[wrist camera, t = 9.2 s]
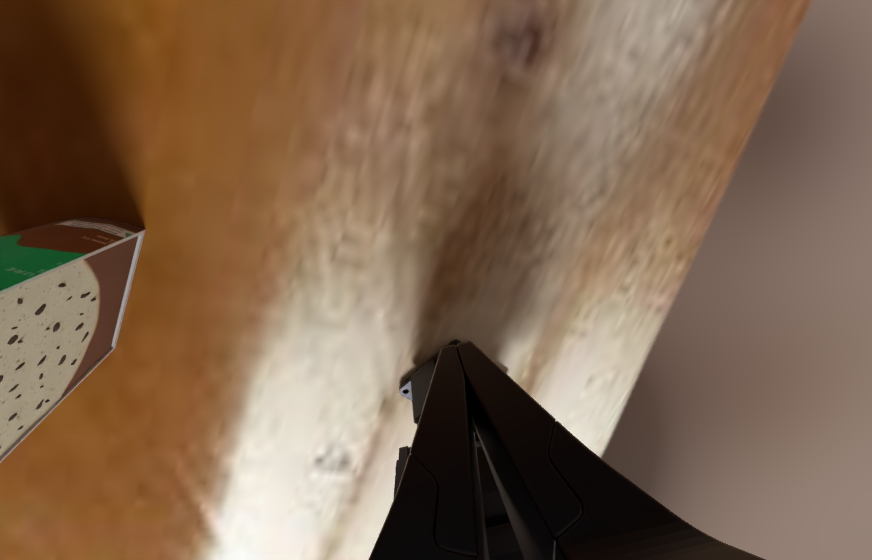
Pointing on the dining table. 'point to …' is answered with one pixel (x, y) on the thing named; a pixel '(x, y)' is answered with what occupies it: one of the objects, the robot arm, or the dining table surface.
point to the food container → (58, 313)
